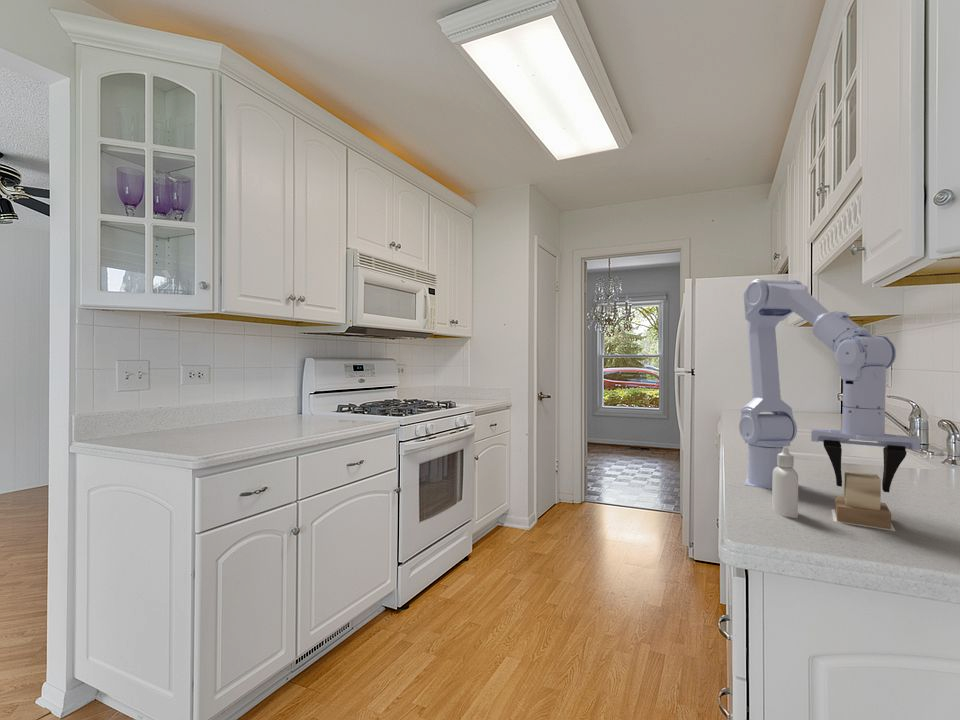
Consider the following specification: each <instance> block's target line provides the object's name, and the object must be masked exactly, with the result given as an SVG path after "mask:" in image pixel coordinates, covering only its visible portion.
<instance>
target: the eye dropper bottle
mask: <svg viewBox="0 0 960 720" xmlns="http://www.w3.org/2000/svg"><path fill="white" fill-rule="evenodd" d="M789 451H790V450H789V446H786V447H783V450H782V453H779V454H778V457H777V465H778V467H776V468H774V470H773V484H772V489H771V490H772V491H771V492H772V493H771V495H772V496H771V497H772V500H771V502H772V503H771V510H772V512H774V513H775V514H777V515H778V516H781V517H784V518H794V519H795V518H797V519H798V517H799V515H798V514H799V475H798V473H797V471H796V470H795V469H794V463H795V462H794V461H795V460H794V455H793V454H792V453H790V452H789Z"/></svg>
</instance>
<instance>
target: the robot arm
mask: <svg viewBox="0 0 960 720" xmlns="http://www.w3.org/2000/svg"><path fill="white" fill-rule="evenodd" d="M808 290H809V289H808V286H807V285H806V284H803V283H802V282H801V281H800V280H797V279H792V280H780V279H779V280H778V279H777V280H775V279H760V278H756V279H753V280H752V281H751V282H750V283H749V284H748V286H747V288H746V289H745V291H744V293H743V304H744V305H743V306H744V307H743V308H744V316H745V317H744V319H745V320H746V322H747V323H746V326H747V340H748V342H747V343H748V351H749V353H748V354H749V368H750V383H751V395H752V399H751V400H750V401H749V402H748V403H746V404H745V405H744V406H743V407H741V409H740V413H741V414H740V421H739V424H738V431H739V434H740V436H741V437H742V439H743V440H744V443H745V444H748V445H747V446H748V447H747V477H746V479H745V481H744V482H743V485H744V486H747V487H753V488H754V487H755V488H761V489H771V490H772V484H773V470H774V468H776V467H778V465H777V457H778V454H779V453H782V450H783V447H790V446H791V442H793V441H794V440H795V438H796V437H797V432H798V426H797V422H796V420H795V418H794V414H793V408H792V407H791V406H790V405H789V404H787V402H785V401H784V400H783V399H782V397H781V396H782V395H781V384H780V383H781V382H780V372H779V371H780V370H779V361H778V360H779V359H778V357H779V356H778V345H777V344H778V343H777V332H776V328H777V325H778V324H779V323H781V322H782V321H785V320H787V318H788V317H790V316H791V314H793V313H794V314H796V315H797V316H798V317H800V318H802V319H803V320H804V321H806V322H807V323H808V324H810V325H812V326H813V327H812V333H813V335H814V337H816V338H817V339H818V340H819V341H821V343H823V344H824V345H825V346H826V347H827V348H829V349H830V350H831V351H832V352H833V354H834V355H833V357H834V361H835V363H836V365H837V366H838V368H839V377H840V378H841V380H842V413H841V414H842V417H841V418H842V419H841V421H842V426H841V429H840V430H838V429H836V430H835V429H815V428H814V429H813V428H811V431H810V440H811V442H817V443H818V442H819V443H820V442H821V443H823V448H824V450H825V452H826V453H827V456H828V458H829V460H830V463H831V465H832V468H833V471H834V475H835V482H836V484H835V485H836V486H837V487H840V488H841V487H843V475H842V451H843V449H842V444H848V445H857V446H858V445H859V446H871V447H872V446H873V447H882V451H883V472H882V473H883V474H882V479H881V482H882V483H881V489H882V491H883V493H890V490H891V485H892V481H893V479H894V477H895V474H896V473H897V470H898V468H899V467H900V465H901V464H902V462H903V461H904V460H905V458H906V457H907V450H912V451H921V440H922V439H921V438H920V437H919V436H912V435H911V436H910V435H902V434H901V435H900V434H888V433H886V427H885V426H886V389H887V388H886V384H887V383H886V381H887V380H886V379H887V378H886V377H887V369H889V368H890V367H891V366H893V363H894V362H895V360H896V357H897V352H896V351H897V350H896V347H895V344H894V343H893V341H891V340H890V339H889V337H888V336H885V335H873V334H871V333H869V330H868V329H867V328H866V327H861V326H860V325H859V324H857V323H856V322H855V321H854V320H852V319H850V314H849V313H847V312H846V311H837V310H836V311H829V310H828V309H827V308H826V307H824V305H823V304H821V303H820V302H819V301H818V300H817V299H816V298H815V297H813V296H812V294H810V293H809V291H808ZM766 412H767V413H766ZM906 449H907V450H906Z"/></svg>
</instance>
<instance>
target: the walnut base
mask: <svg viewBox="0 0 960 720" xmlns="http://www.w3.org/2000/svg"><path fill="white" fill-rule="evenodd" d="M834 505H835V506H834V507H835V508H834V510H835V513H836V518H837V521H840V522H847V523H853V524H860V525H866V526H873V527H879V528H886V529H891V523H892V513H891V511H890V508H889V507H888V505H887V503H886V502H881V501H880V510H874V509H866V508H859V507H852V506H846V504H845V501H844V496H843V497H842V496H837V495H835V501H834Z"/></svg>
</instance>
